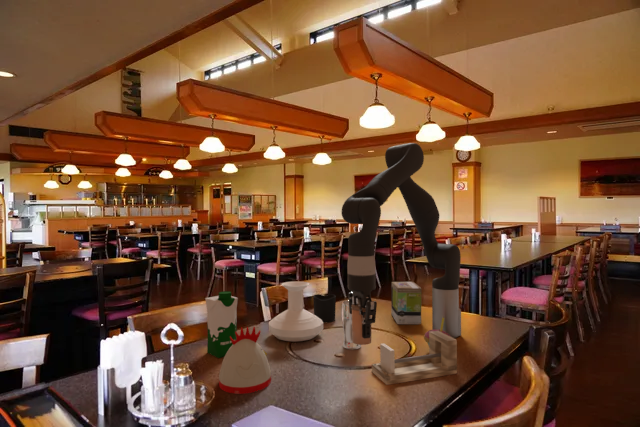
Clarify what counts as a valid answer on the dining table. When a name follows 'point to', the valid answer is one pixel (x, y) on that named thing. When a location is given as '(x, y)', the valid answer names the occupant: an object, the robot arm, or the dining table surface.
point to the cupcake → (426, 336)
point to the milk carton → (221, 323)
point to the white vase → (295, 317)
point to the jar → (358, 327)
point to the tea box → (406, 303)
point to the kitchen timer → (245, 365)
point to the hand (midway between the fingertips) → (361, 334)
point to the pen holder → (325, 307)
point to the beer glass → (347, 327)
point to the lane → (424, 362)
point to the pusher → (389, 359)
